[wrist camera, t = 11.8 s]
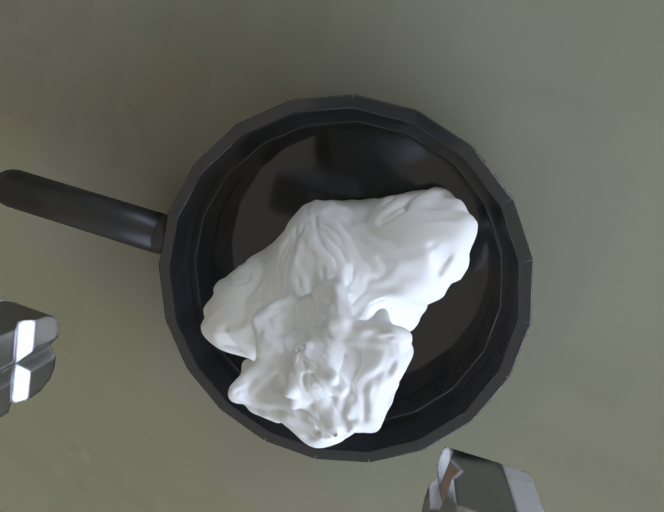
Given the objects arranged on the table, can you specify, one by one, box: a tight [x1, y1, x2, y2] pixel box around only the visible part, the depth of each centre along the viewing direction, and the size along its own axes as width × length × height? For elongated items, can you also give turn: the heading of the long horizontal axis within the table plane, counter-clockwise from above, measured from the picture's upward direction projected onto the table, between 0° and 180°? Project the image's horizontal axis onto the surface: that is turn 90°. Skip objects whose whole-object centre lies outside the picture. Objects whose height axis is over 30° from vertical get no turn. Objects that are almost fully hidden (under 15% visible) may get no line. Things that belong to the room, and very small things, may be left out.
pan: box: [159, 95, 533, 462], centre depth 21 cm, size 15×15×4 cm
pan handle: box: [0, 170, 168, 254], centre depth 21 cm, size 9×2×2 cm, turn 75°
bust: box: [201, 187, 478, 448], centre depth 18 cm, size 12×8×11 cm
